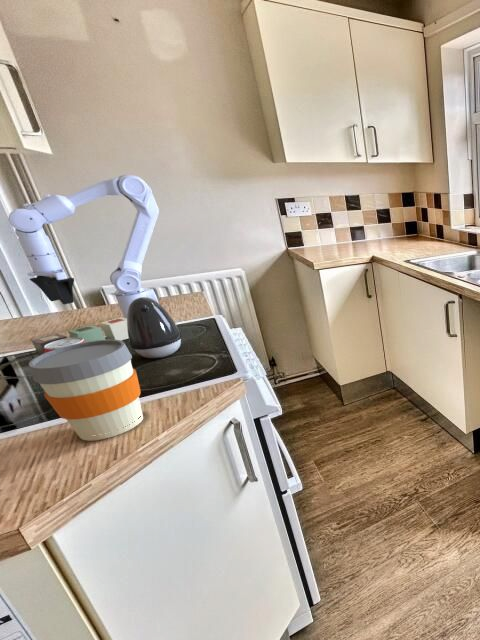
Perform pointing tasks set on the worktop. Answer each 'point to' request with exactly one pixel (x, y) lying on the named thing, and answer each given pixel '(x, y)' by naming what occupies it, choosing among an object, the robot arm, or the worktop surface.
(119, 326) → the block
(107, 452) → the worktop surface
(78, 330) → the block
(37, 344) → the block
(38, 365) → the reusable coffee cup
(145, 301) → the black egg shaped device
